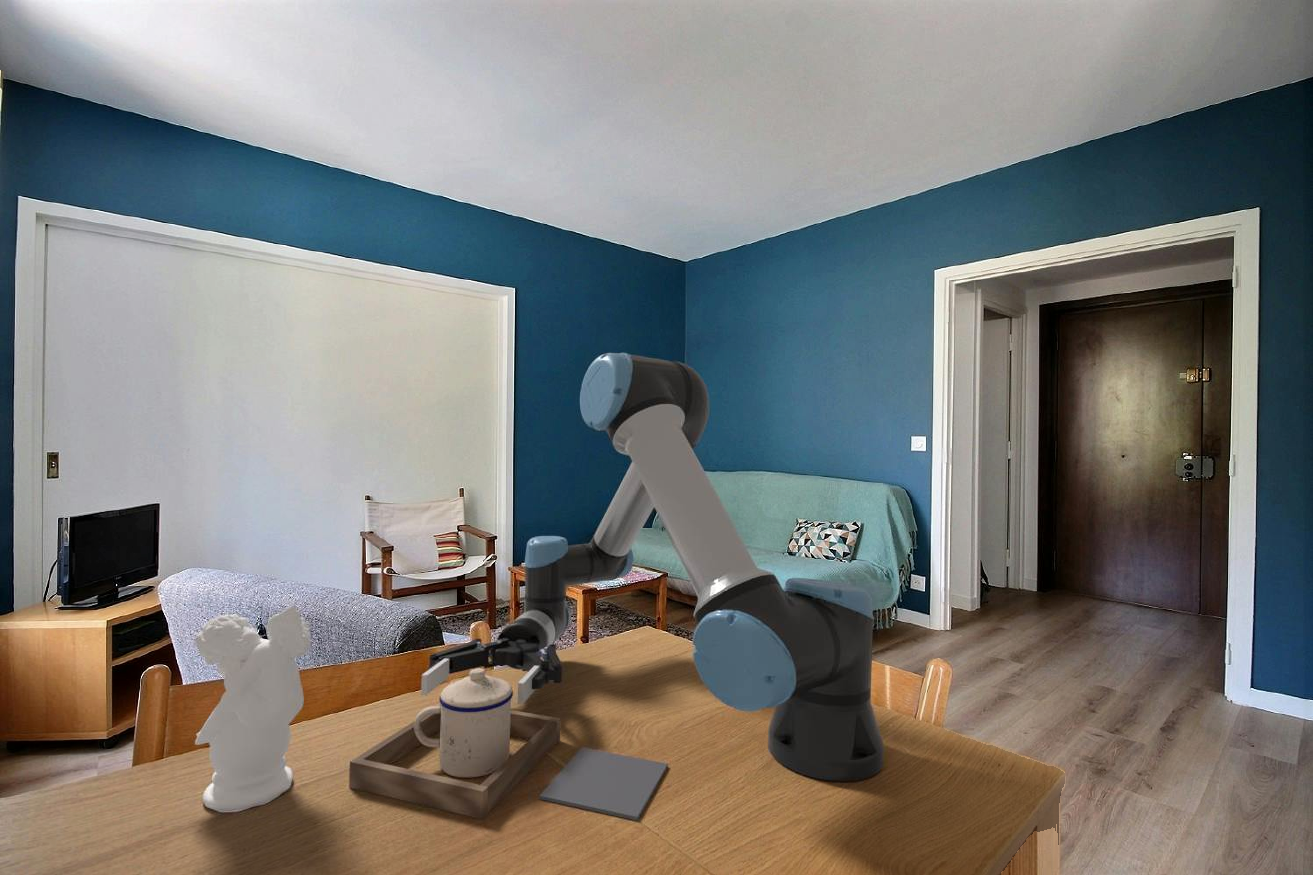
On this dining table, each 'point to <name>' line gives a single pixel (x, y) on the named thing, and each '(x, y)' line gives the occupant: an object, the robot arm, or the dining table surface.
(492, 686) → the teacup with lid
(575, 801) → the charcoal mat
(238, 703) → the cherub figurine
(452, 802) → the walnut box
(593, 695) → the dining table surface
